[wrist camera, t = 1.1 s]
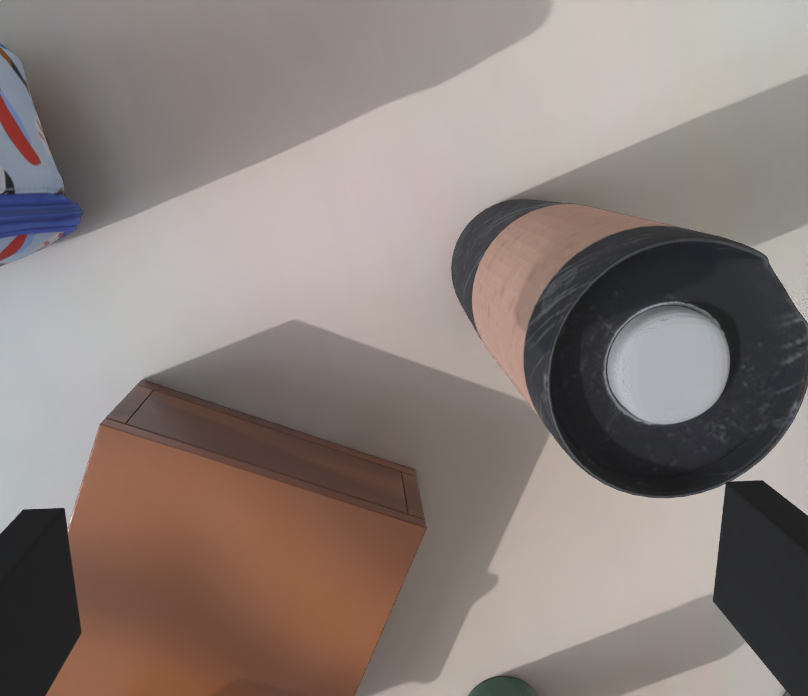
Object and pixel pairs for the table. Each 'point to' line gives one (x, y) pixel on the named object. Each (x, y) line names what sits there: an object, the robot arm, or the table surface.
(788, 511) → the robot arm
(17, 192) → the lunch box
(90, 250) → the table surface
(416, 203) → the table surface
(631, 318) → the travel mug
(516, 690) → the tea tin
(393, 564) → the case lid
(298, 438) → the case
